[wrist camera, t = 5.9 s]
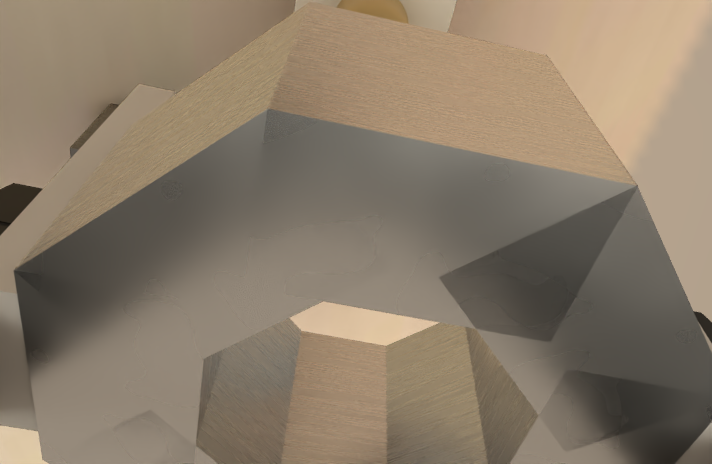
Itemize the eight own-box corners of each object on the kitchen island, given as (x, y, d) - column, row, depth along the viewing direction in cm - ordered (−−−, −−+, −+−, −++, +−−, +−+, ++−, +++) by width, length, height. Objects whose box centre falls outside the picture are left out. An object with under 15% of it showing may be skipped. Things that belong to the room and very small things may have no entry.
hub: (297, 45, 29) (269, 125, 21) (317, -92, 25) (293, -55, 18) (417, 71, 29) (431, 157, 22) (453, -60, 26) (483, -11, 19)
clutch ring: (134, 373, 14) (56, 546, 10) (130, -40, 9) (-22, 47, 5) (506, 434, 15) (543, 614, 11) (704, 90, 9) (875, 234, 6)
